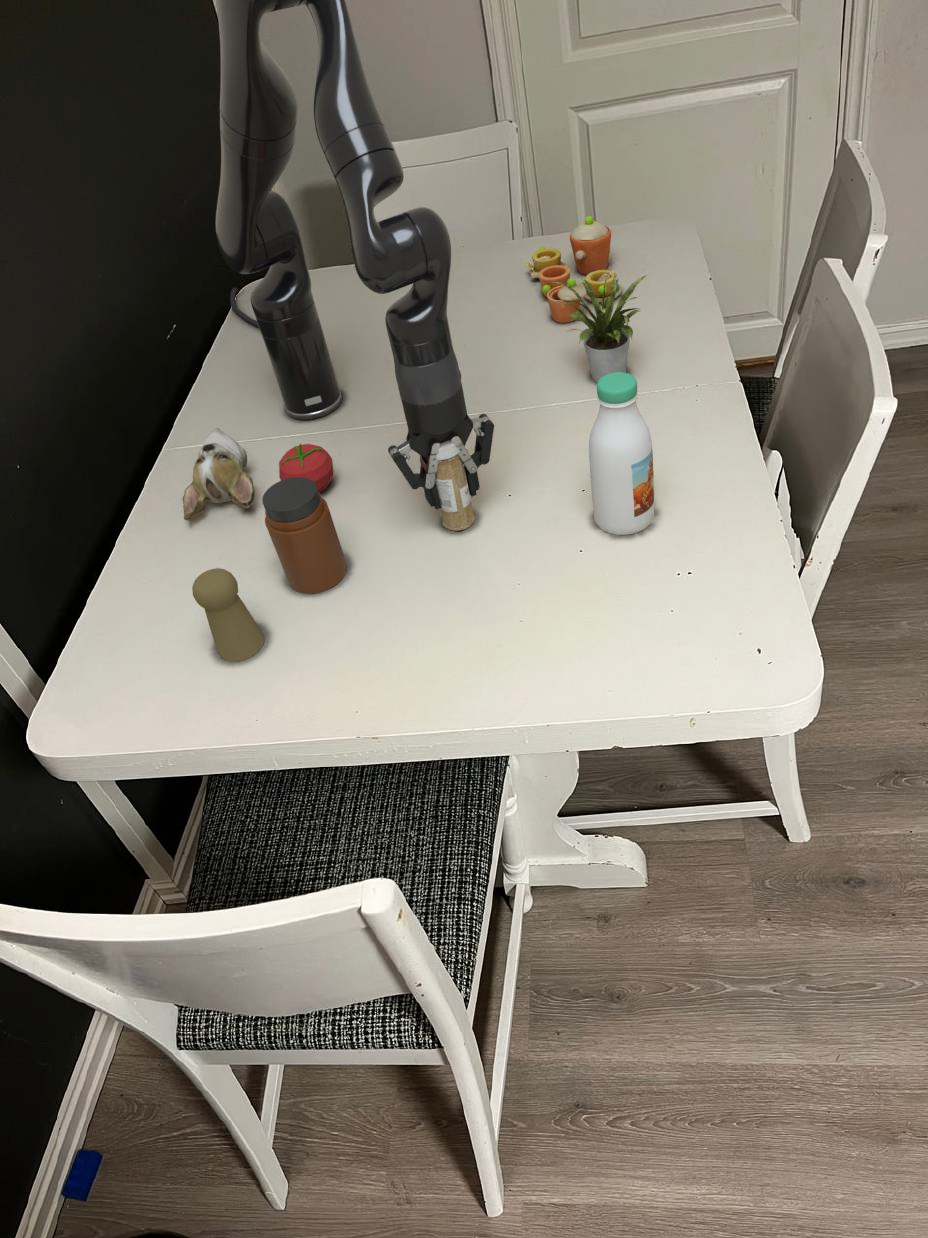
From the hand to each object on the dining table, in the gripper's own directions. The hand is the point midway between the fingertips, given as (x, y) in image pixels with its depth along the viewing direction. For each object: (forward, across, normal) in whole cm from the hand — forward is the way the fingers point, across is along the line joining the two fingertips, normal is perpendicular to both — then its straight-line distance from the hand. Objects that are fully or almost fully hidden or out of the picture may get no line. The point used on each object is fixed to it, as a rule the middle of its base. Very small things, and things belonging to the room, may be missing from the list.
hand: (453, 498), depth 125 cm
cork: (+4, +32, +8) cm, 33 cm away
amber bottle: (+4, +20, 0) cm, 20 cm away
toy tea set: (+4, -42, -51) cm, 66 cm away
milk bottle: (+4, -19, +11) cm, 22 cm away
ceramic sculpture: (+4, +28, -25) cm, 38 cm away
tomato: (+4, +16, -19) cm, 25 cm away
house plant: (+4, -32, -22) cm, 39 cm away
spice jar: (+4, 0, 0) cm, 4 cm away
